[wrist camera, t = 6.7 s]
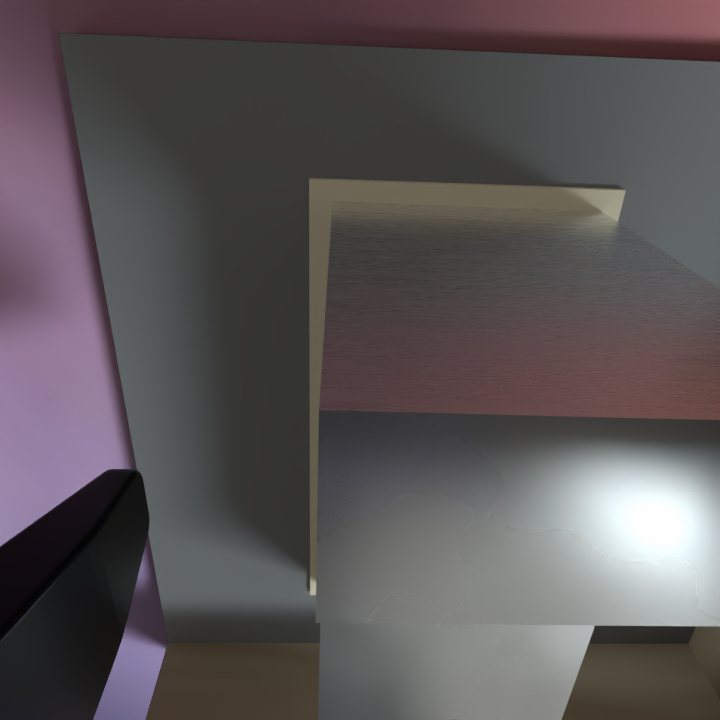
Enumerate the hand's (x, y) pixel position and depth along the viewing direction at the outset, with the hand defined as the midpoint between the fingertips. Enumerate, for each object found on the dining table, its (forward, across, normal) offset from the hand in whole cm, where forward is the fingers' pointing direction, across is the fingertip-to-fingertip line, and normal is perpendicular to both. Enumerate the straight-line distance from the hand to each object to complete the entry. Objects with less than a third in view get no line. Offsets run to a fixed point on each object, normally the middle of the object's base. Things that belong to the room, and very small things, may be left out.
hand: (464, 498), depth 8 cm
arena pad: (+3, -1, +1) cm, 3 cm away
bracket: (+2, 0, 0) cm, 2 cm away
